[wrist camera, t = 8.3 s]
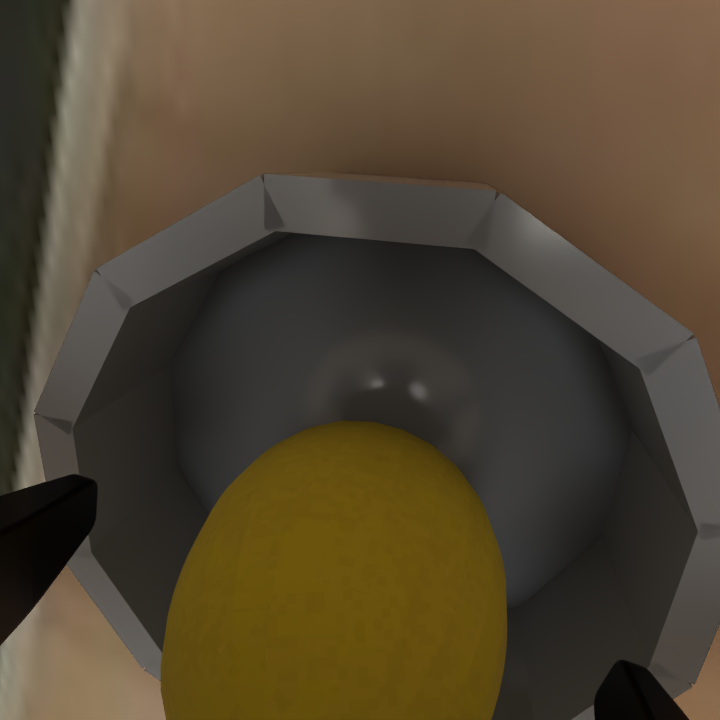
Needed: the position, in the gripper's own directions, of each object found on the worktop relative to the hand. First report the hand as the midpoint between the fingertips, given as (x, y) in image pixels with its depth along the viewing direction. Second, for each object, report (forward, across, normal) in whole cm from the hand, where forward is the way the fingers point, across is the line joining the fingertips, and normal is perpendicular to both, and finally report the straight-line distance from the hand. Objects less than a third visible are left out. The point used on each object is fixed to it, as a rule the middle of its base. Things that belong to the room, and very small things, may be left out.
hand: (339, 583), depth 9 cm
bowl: (+6, 0, 0) cm, 6 cm away
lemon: (+5, 0, 0) cm, 5 cm away
